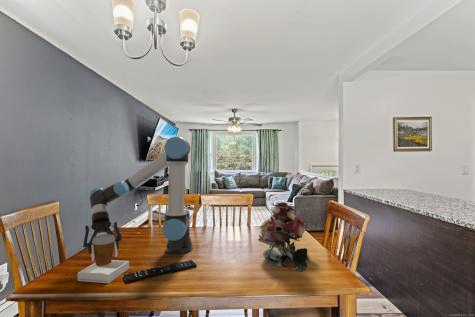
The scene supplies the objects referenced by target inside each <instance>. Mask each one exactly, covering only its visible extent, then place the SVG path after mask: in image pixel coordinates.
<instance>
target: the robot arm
mask: <svg viewBox="0 0 475 317" xmlns="http://www.w3.org/2000/svg"><path fill="white" fill-rule="evenodd" d="M190 152H191V146H190V143H189V142H188V141H187V140H186V139H185V138H183V137H181V136H172V137H169V138H168V139H167V140H166V141H165V144H164V152H163V153H162V154H160V155H159V156H157V157H156V158H155V159H153V160H152V161H151V162H149V163H148V164H146V165H144V166H143V167H142V168H140V169H139V170H137V171H136V172H135V173H134V174H131V176H129V177H128V178H126V179H125V180H120V181H117V182H115V183H114V184H112V185H110V186H108V187H106V188H103V187H97V188H96V187H95V188H93V189H92V190H90V191H89V202H90V203H89V204H90V212H91V225H85V227H84V231H85V234H84V238H83V244H82V245H83V246H82V247H83V248H87V250H88V251H87V253H88V255H91V256H90V257H91V262H94V261H95V254H94V246H93V243H92V241H93V238H94V237H96V236H98V235H97V234H101V233H105V234H111V235H114V236H115V241H114V247H113V253H114V257H118V250H119V247H120V244H119V243H120V242H121V241H122V239H123V237H122V234H121V232H120V229H119V227H118V222H117V221H114V222H111V221H110V215H109V207H108V204H109V203H111V202H113V201H115V200H117V199H119V198H121V197H125V196H127V195H130V194H132V193H133V192H134V191H135V190H136V189H138V188H139V187H141V186H142V185H143V184H145V183H146V182H148V181H149V180H150V179H152V178H153V177H154V176H156V175H158V174H159V173H161V172H162V171H164V170H165V169H167V167H168V185H167V186H168V188H167V190H168V191H167V194H168V195H167V210H166V211H165V212H164V222H163V225H162V234H163V236H164V237H165V238H166V240H167V242H166V243H167V244H166V247H165V251H166V252H167V253H169V254H171V255H172V254H174V255H176V254H177V255H178V254H180V255H181V254H184V253H188V252H190V251H192V250H193V247H194V246H193V242H192V239H191V235H190V231H191V229H190V222H191V221H190V216H191V214H190V210H188V209H185V195H186V194H185V191H186V165H187V164H188V163H189V154H190ZM110 227H111V228H113V230H114V232H113V231H112V230H111V228H110ZM91 229H92V230H93V234H92V235H91V237H90V240H89V242H88V238H89V233H90V231H91Z"/></svg>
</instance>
